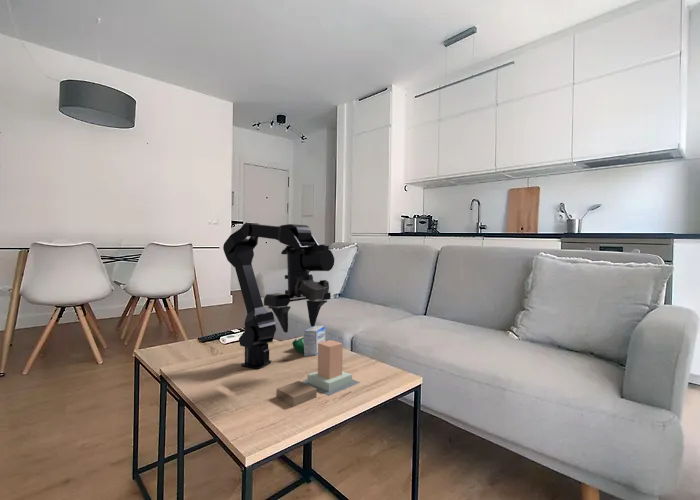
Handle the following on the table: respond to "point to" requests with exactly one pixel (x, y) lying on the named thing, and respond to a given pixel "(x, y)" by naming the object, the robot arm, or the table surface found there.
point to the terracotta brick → (330, 359)
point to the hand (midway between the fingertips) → (299, 329)
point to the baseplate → (332, 390)
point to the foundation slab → (329, 381)
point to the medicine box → (313, 339)
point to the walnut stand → (296, 393)
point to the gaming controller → (299, 345)
